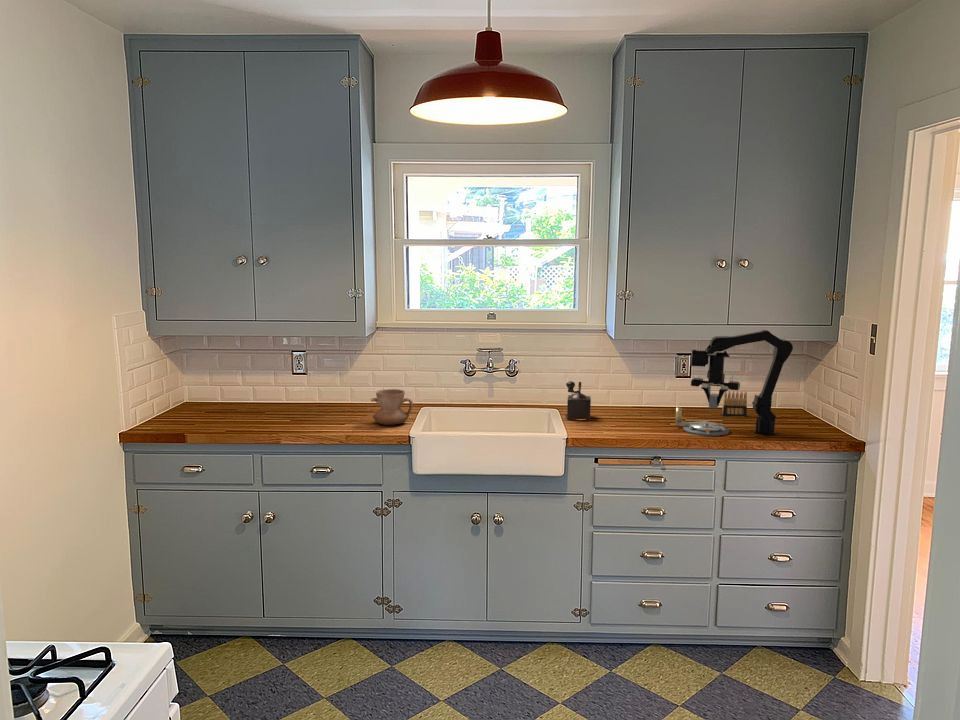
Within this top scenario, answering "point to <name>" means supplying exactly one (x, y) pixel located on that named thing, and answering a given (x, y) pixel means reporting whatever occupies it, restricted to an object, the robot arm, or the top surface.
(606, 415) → the top surface
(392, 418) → the ceramic jug
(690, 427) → the grey crank mechanism
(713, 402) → the link block
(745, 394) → the ammunition clip
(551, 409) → the top surface
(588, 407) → the pepper mill
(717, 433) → the index plate
